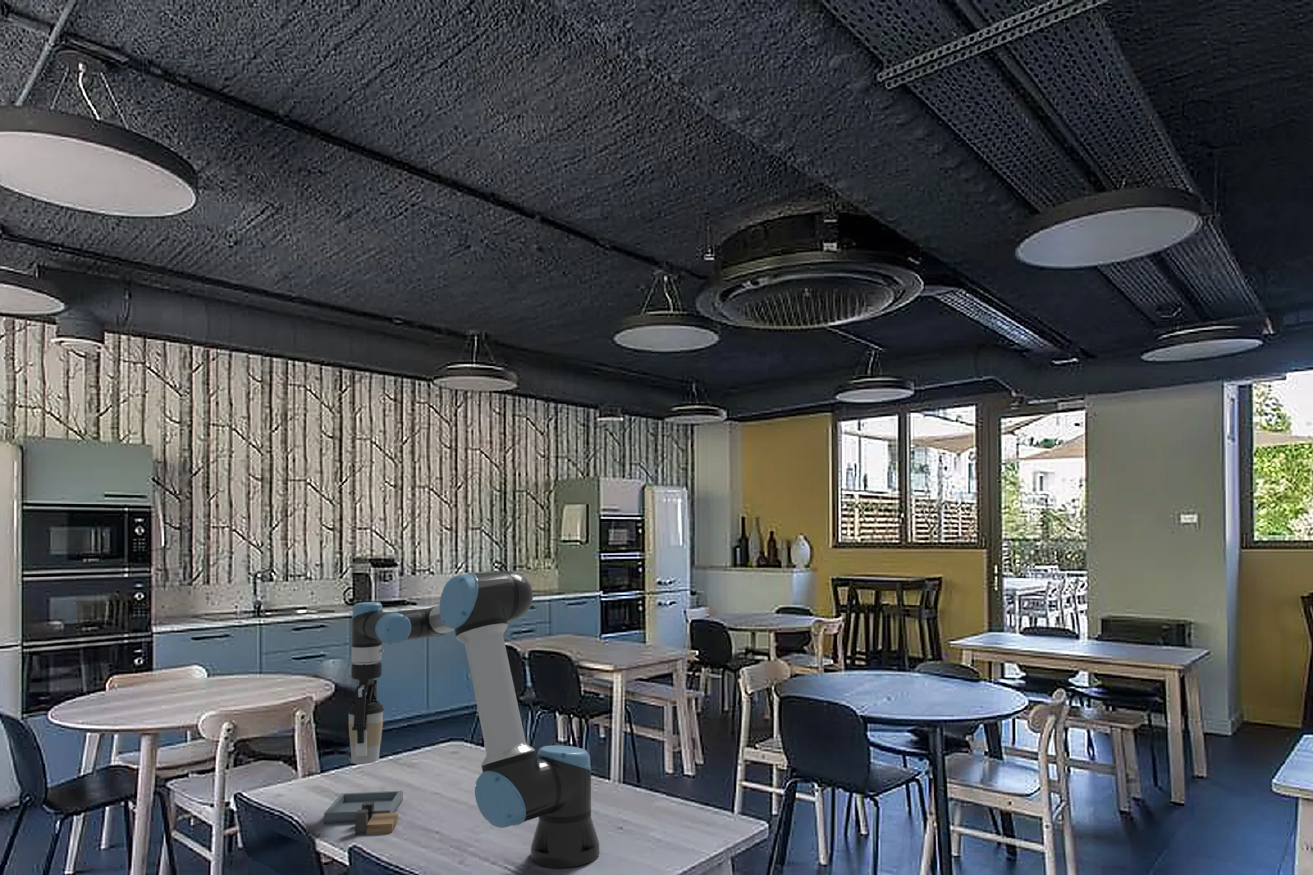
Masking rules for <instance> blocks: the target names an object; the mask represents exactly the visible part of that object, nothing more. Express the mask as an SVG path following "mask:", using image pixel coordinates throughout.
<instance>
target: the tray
mask: <svg viewBox="0 0 1313 875" xmlns="http://www.w3.org/2000/svg"><path fill="white" fill-rule="evenodd" d="M403 798H404V791H403V790H389V791H387V790H386V791H384V790H383V791H363V792H362V791H361V792H342V793H340V795H338V797H337V798H336V799H335V800H334V801H333V802H332V803H331V805H330V806H329V807H328V808H327V809H326V810H325V812H324V813H323V824H326V825H327V824H342V823H344V824H345V823H347V824H348V823H355V820H356V812H357V811H358V810H362V804H363V803H364V802H374V814H384V813H397V811H398V809H399V807H400V805H401V804H402V802H403V800H404V799H403Z"/></svg>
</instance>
